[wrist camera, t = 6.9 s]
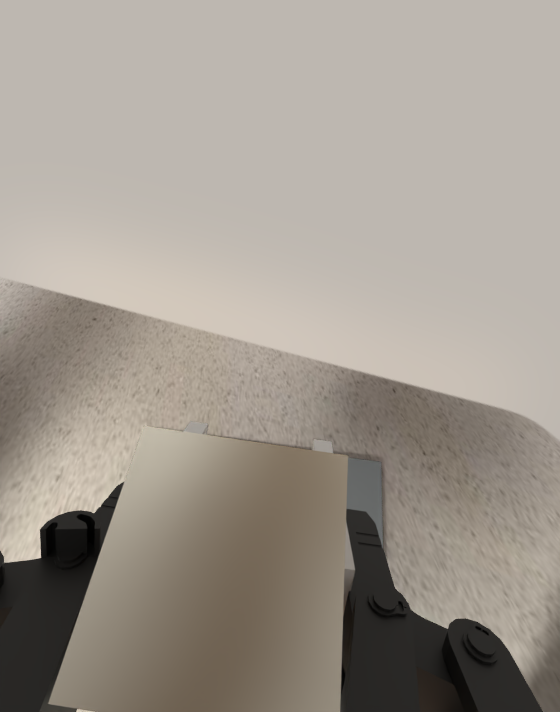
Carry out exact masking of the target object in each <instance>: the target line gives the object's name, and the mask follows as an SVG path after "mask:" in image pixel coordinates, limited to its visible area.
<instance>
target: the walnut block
mask: <svg viewBox="0 0 560 712" xmlns="http://www.w3.org/2000/svg"><path fill="white" fill-rule="evenodd" d="M347 473H348V455H342V454H335V453H328V452H321V451H314V450H308V449H301V448H294V447H287V446H280V445H273V444H266V443H259V442H252V441H246V440H239V439H232V438H225V437H218V436H211V435H204V434H197V433H191V432H184V431H177V430H170V429H163V428H156V427H149V426H143V429H142V432H141V435H140V438H139V441H138V444H137V447H136V449H135V452H134V455H133V458H132V461H131V464H130V467H129V470H128V473H127V476H126V479H125V481H124V484H123V487H122V490H121V493H120V496H119V499H118V502H117V505H116V508H115V511H114V513H113V516H112V519H111V522H110V525H109V528H108V531H107V534H106V537H105V540H104V543H103V545H102V548H101V551H100V554H99V557H98V560H97V563H96V566H95V569H94V572H93V575H92V577H91V580H90V583H89V586H88V589H87V592H86V595H85V598H84V601H83V604H82V607H81V609H80V612H79V615H78V618H77V621H76V624H75V627H74V630H73V633H72V636H71V639H70V641H69V644H68V647H67V650H66V653H65V656H64V659H63V662H62V665H61V668H60V670H59V673H58V676H57V679H56V682H55V685H54V688H53V691H52V694H51V697H50V700H49V702H48V704H51V705H58V706H64V707H70V708H76V709H82V710H89V711H95V712H340V700H341V668H342V635H343V603H344V570H345V538H346V505H347Z"/></svg>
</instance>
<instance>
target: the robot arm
mask: <svg viewBox="0 0 560 712" xmlns="http://www.w3.org/2000/svg"><path fill="white" fill-rule="evenodd" d="M207 430H208V424H207V423H200V422H193V421H190V423H189V424H188V425H187V427H186V428H185V430H184V432H191V433H197V434H204V435H207ZM312 450H314V451H321V452H328V453H333V448H332V442H331V441H324V440H318V439H313V445H312ZM123 484H124V482H123V483H121V484H120V485H118V486H117V487H116V488H115V489H114V490H113V492H112V493H111V494H110V495H109V497H108V498H107V499H106V500H105V501H104V502H103V504H102V505H101V507H99V508H98V510H97V511H96V512H95V513H92V512H88V511H81V510H80V511H72V512H67V513H64V514H61V515H58V516H56V517H55V518H53V519H51V520H50V521H48V522H47V523H46V524H45V525H44V526H43V527H42V528H41V529H40V539H41V558H39V559H34V560H28V561H19V562H10V563H4V556H3V555H2V553H1V551H0V712H76V710H77V709H76V708H70V707H64V706H58V705H51V704H48V702H49V700H50V697H51V694H52V691H53V688H54V685H55V682H56V679H57V676H58V673H59V670H60V668H61V665H62V662H63V659H64V656H65V653H66V650H67V647H68V644H69V641H70V639H71V636H72V633H73V630H74V627H75V624H76V621H77V618H78V615H79V612H80V609H81V607H82V604H83V601H84V598H85V595H86V592H87V589H88V586H89V583H90V580H91V577H92V575H93V572H94V569H95V566H96V563H97V560H98V557H99V554H100V551H101V548H102V545H103V543H104V540H105V537H106V534H107V531H108V528H109V525H110V522H111V519H112V516H113V513H114V511H115V508H116V505H117V502H118V499H119V496H120V493H121V490H122V487H123ZM340 712H543V711H542V709H541V708H540V706H539V704H538V702H537V700H536V699H535V697H534V695H533V693H532V691H531V690H530V688H529V686H528V684H527V683H526V681H525V679H524V677H523V675H522V674H521V672H520V670H519V668H518V666H517V665H516V663H515V661H514V659H513V657H512V656H511V654H510V652H509V651H508V649H507V648H506V646H505V645H504V644H503V642H502V641H501V640H500V639H499V638H498V637H497V636H496V635H495V634H494V633H493V632H492V631H491V630H489V629H488V628H486V627H485V626H483V625H481V624H480V623H478V622H475V621H472V620H469V619H455V620H454V621H453V622H451V623H450V624H449V628H448V629H446V628H444V627H442V626H439V625H437V624H435V623H433V622H431V621H428V620H426V619H424V618H422V617H421V616H419V615H417V614H416V613H414V612H413V611H412V610H410V607H409V604H408V602H407V601H406V600H405V598H404V597H403V595H402V594H401V593H399V592H398V591H397V590H396V589H395V587H394V584H393V580H392V577H391V574H390V570H389V567H388V564H387V560H386V557H385V554H384V550H383V548H382V544H381V540H380V538H379V534H378V530H377V527H376V524H375V522H374V521H373V520H372V518H371V517H370V516H369V515H368V513H367V512H366V511H359V510H352V509H346V538H345V570H344V603H343V635H342V668H341V700H340Z"/></svg>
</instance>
